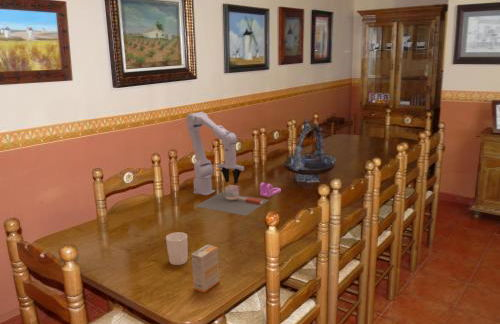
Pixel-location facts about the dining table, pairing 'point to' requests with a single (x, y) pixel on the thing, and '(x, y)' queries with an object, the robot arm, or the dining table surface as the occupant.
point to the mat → (229, 205)
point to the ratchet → (245, 200)
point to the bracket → (268, 190)
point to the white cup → (177, 248)
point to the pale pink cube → (231, 191)
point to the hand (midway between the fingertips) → (231, 182)
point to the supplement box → (205, 268)
